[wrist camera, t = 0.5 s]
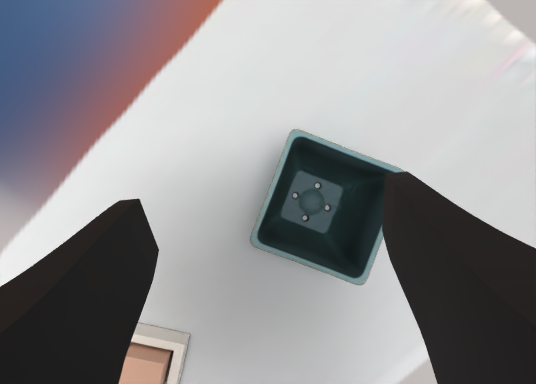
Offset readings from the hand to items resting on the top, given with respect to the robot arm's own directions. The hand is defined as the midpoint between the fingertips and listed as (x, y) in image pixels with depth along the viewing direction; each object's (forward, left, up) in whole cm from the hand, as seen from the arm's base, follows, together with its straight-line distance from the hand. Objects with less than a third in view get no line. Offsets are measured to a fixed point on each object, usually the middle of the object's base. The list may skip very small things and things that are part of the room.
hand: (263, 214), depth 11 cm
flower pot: (0, -5, -24) cm, 25 cm away
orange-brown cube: (-17, +7, -22) cm, 28 cm away
